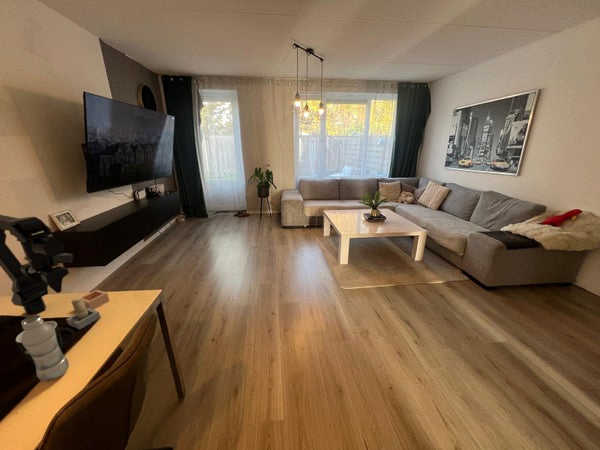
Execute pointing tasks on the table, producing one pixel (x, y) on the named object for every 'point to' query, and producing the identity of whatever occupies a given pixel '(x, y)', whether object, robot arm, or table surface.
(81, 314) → the dowel
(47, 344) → the plastic bottle
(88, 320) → the socket block
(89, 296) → the square box
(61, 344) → the mug
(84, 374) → the table surface
